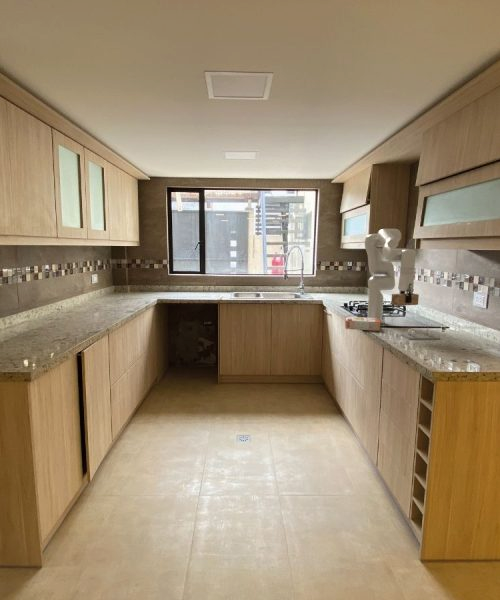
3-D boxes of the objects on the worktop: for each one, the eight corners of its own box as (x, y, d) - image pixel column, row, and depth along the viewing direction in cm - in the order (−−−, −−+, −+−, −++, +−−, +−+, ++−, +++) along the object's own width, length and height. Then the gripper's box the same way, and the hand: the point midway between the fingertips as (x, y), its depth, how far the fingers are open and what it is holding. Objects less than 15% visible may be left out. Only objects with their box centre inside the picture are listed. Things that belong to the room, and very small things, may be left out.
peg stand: (400, 335, 218) (401, 328, 218) (430, 335, 219) (430, 328, 219) (408, 339, 208) (409, 332, 208) (439, 339, 209) (440, 332, 209)
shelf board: (391, 304, 215) (391, 294, 215) (410, 303, 220) (411, 293, 219) (398, 305, 210) (399, 295, 209) (418, 304, 215) (418, 294, 214)
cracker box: (381, 321, 227) (345, 320, 231) (380, 331, 228) (345, 329, 232) (378, 317, 240) (344, 316, 245) (377, 326, 241) (344, 325, 246)
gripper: (394, 270, 221) (392, 299, 223) (407, 272, 204) (405, 304, 206) (406, 270, 221) (404, 299, 224) (421, 272, 204) (418, 304, 206)
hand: (405, 301), depth 215 cm, fingers closed on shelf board, 7 cm apart
